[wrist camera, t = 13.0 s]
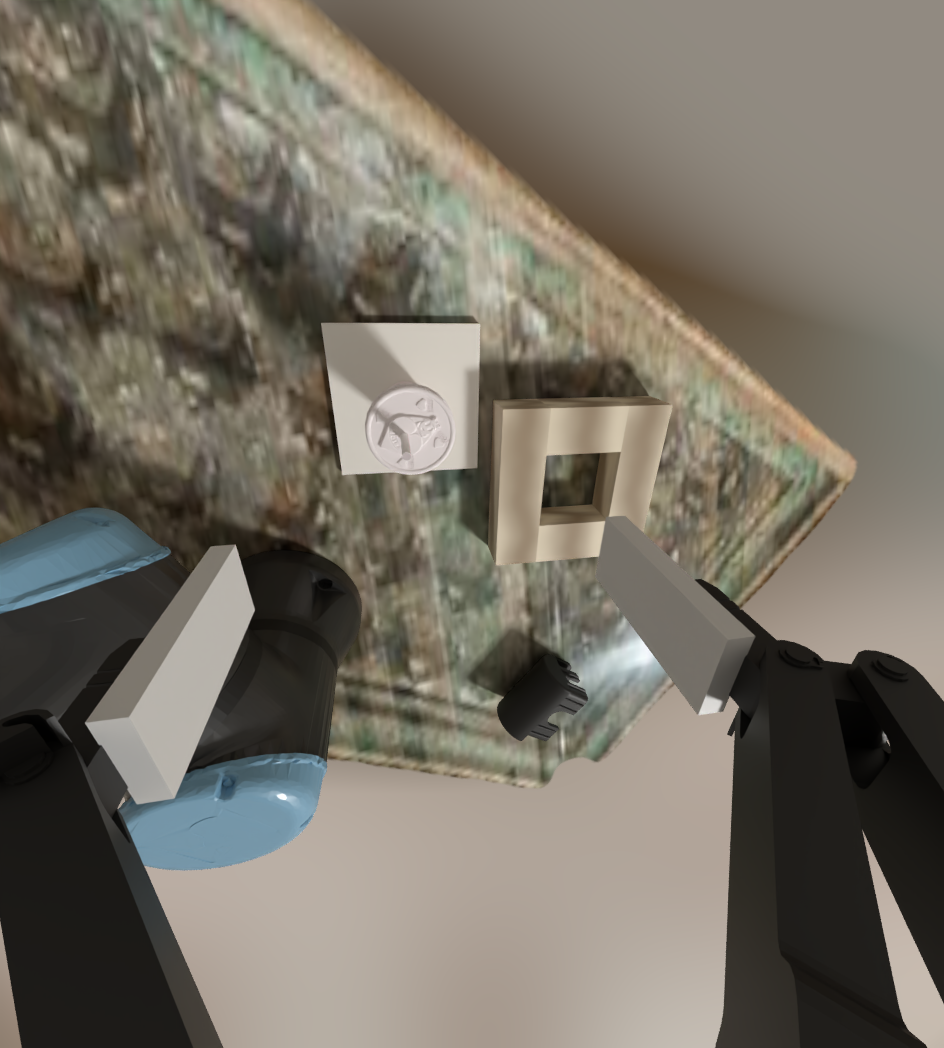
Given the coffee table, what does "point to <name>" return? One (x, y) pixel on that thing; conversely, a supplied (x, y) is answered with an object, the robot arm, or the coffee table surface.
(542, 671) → the end cap
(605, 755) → the coffee table surface
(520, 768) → the coffee table surface
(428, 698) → the coffee table surface
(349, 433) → the tile
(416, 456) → the smoothie
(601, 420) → the frame
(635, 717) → the coffee table surface
